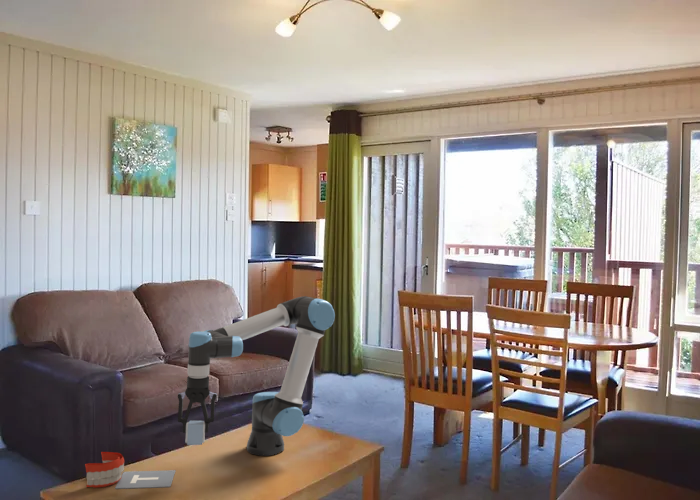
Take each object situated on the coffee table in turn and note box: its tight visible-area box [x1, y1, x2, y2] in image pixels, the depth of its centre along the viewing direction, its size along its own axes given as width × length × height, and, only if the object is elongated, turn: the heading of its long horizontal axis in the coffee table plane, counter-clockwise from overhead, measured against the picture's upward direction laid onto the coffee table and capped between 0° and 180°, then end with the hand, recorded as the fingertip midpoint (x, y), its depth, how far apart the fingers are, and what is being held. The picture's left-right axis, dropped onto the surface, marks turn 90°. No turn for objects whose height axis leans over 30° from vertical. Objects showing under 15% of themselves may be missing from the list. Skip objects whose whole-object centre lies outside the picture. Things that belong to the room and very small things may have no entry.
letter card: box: [114, 469, 176, 490], centre depth 206 cm, size 18×14×1 cm
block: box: [186, 420, 205, 446], centre depth 208 cm, size 5×5×7 cm
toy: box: [84, 451, 125, 489], centre depth 203 cm, size 12×10×8 cm
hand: (195, 441), depth 208 cm, fingers closed on block, 5 cm apart
